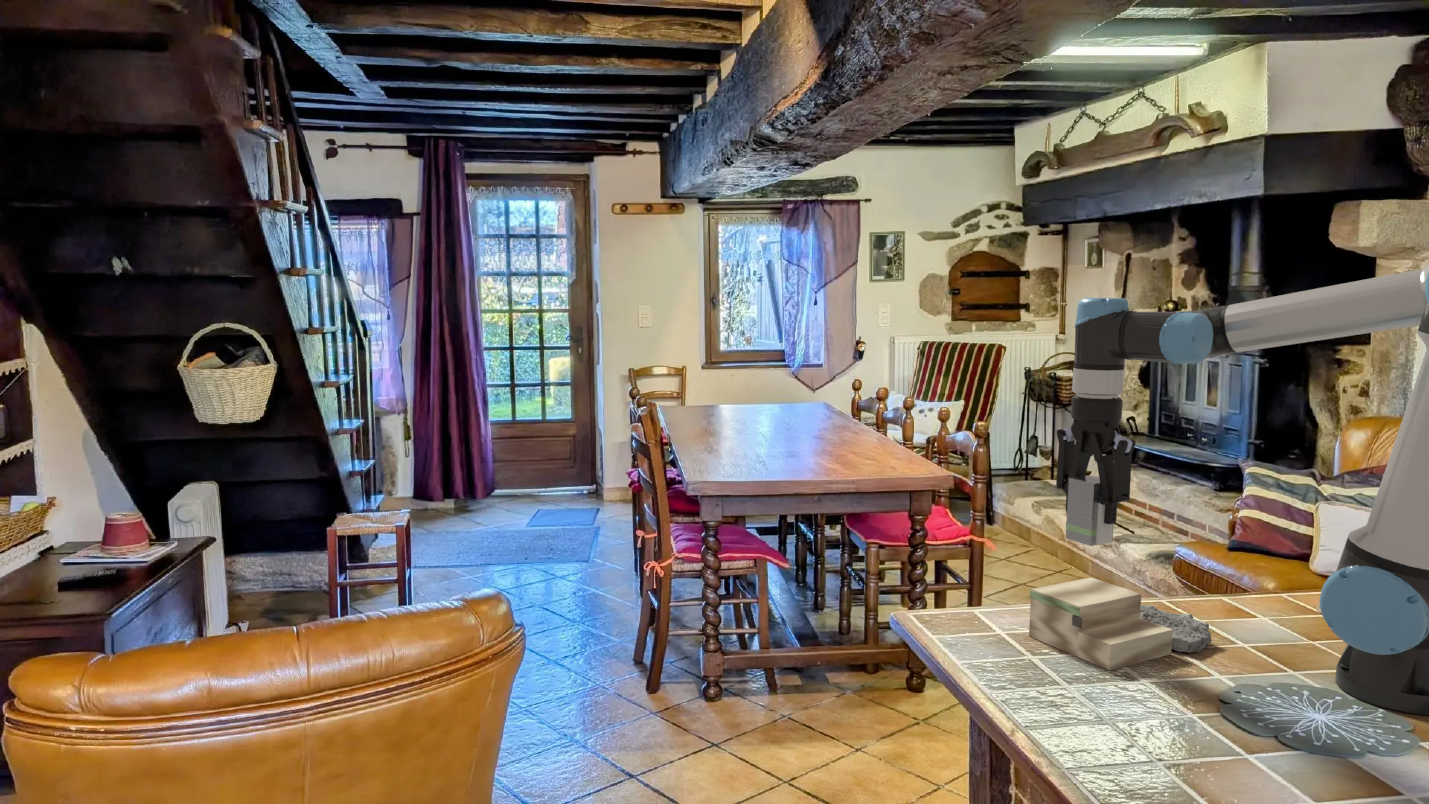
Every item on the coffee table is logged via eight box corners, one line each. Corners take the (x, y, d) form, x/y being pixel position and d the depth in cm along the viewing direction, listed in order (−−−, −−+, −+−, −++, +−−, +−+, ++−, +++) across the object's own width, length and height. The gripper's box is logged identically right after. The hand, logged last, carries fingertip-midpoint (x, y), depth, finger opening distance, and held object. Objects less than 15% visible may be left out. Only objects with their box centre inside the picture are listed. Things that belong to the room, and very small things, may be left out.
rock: (1219, 648, 155) (1222, 618, 154) (1185, 658, 149) (1188, 627, 149) (1145, 623, 165) (1148, 595, 165) (1112, 633, 160) (1114, 604, 160)
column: (1112, 542, 154) (1116, 480, 153) (1090, 545, 151) (1094, 483, 150) (1087, 534, 158) (1090, 475, 157) (1065, 538, 156) (1068, 477, 155)
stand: (1171, 654, 151) (1174, 604, 150) (1107, 670, 144) (1110, 619, 143) (1088, 622, 165) (1091, 577, 164) (1027, 636, 158) (1029, 589, 157)
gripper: (1162, 400, 146) (1153, 549, 149) (1068, 388, 162) (1061, 523, 164) (1129, 403, 142) (1120, 555, 145) (1036, 390, 158) (1029, 528, 161)
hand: (1089, 538), depth 155 cm, fingers closed on column, 5 cm apart
